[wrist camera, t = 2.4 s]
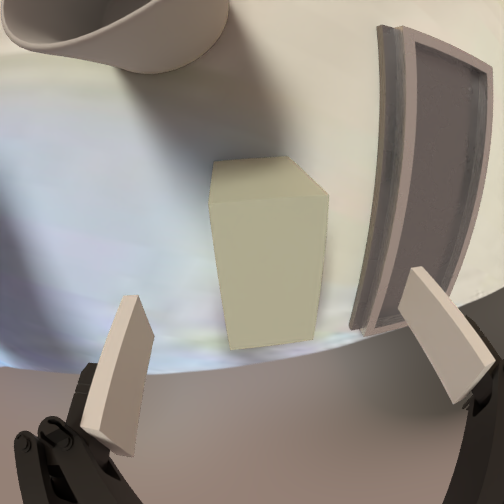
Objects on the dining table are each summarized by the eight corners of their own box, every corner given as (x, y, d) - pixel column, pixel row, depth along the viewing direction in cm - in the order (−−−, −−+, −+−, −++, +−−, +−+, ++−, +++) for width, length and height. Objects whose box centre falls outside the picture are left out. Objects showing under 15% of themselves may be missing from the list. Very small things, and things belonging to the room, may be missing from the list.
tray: (348, 325, 27) (355, 338, 26) (376, 26, 13) (390, 21, 11) (437, 304, 28) (445, 314, 26) (483, 68, 13) (497, 70, 12)
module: (226, 275, 22) (230, 352, 16) (213, 161, 18) (208, 203, 11) (287, 268, 23) (312, 342, 16) (287, 156, 18) (329, 195, 11)
